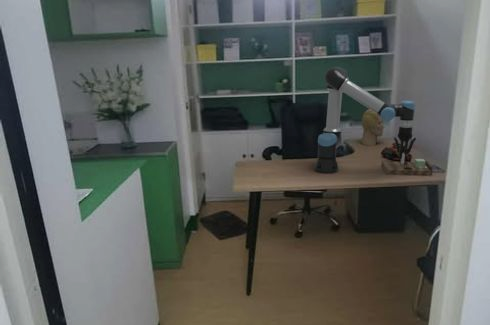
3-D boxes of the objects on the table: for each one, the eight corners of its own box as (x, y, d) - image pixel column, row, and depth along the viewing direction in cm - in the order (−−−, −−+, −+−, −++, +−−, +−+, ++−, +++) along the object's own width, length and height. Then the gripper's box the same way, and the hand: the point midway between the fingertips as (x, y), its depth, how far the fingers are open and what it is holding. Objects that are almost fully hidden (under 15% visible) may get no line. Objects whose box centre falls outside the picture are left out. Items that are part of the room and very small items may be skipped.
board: (386, 174, 223) (386, 165, 221) (381, 165, 240) (382, 157, 239) (431, 175, 217) (432, 166, 216) (423, 166, 235) (424, 158, 234)
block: (416, 167, 225) (416, 161, 223) (414, 164, 229) (414, 158, 228) (424, 167, 224) (425, 161, 222) (422, 165, 228) (423, 159, 227)
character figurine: (394, 136, 261) (417, 147, 234) (399, 149, 264) (422, 160, 238) (373, 148, 261) (394, 160, 235) (378, 160, 265) (399, 173, 239)
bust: (384, 146, 290) (387, 109, 282) (361, 146, 294) (363, 109, 286) (381, 141, 307) (384, 106, 299) (360, 141, 311) (361, 106, 303)
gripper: (395, 127, 219) (392, 164, 226) (418, 127, 217) (414, 165, 223) (393, 125, 226) (390, 161, 233) (415, 125, 224) (411, 162, 230)
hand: (402, 163), depth 228 cm, fingers closed
